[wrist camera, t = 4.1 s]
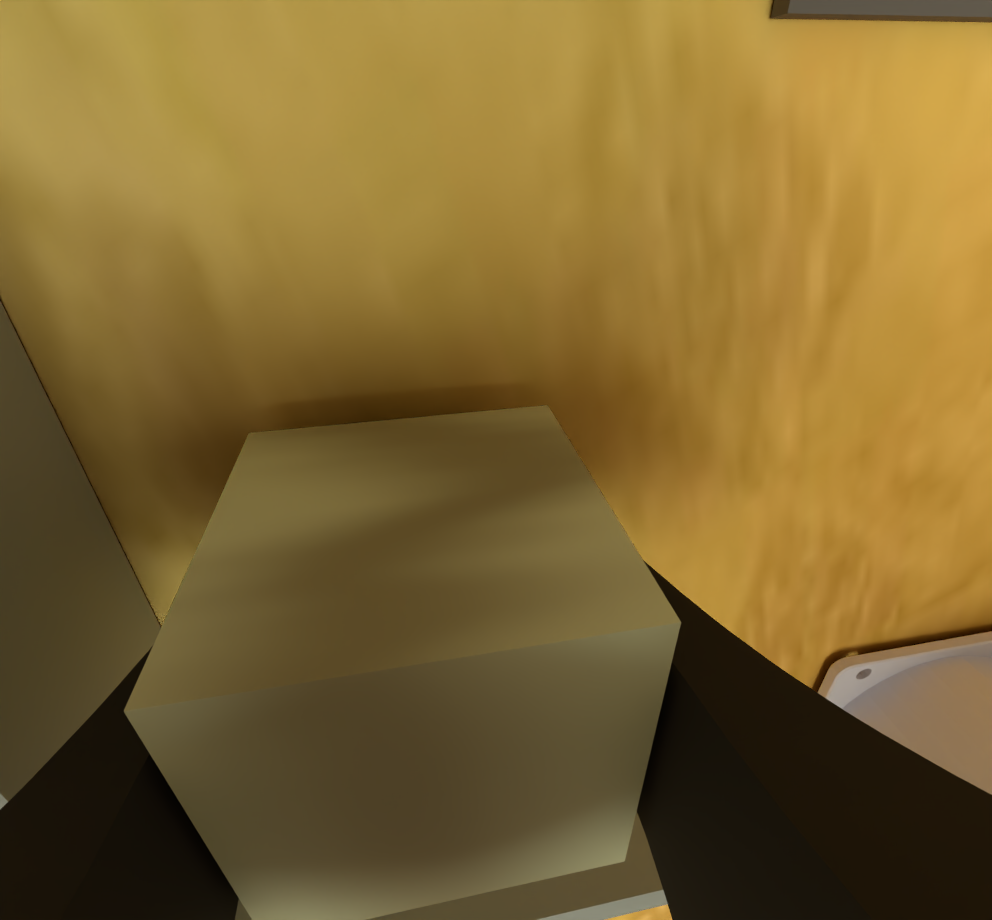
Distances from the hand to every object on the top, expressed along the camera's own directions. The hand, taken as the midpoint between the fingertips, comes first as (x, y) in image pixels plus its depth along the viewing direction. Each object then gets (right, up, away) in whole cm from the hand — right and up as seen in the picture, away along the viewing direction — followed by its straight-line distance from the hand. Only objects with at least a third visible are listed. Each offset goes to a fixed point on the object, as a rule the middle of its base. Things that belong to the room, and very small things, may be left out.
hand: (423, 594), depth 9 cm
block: (0, +1, +1) cm, 2 cm away
